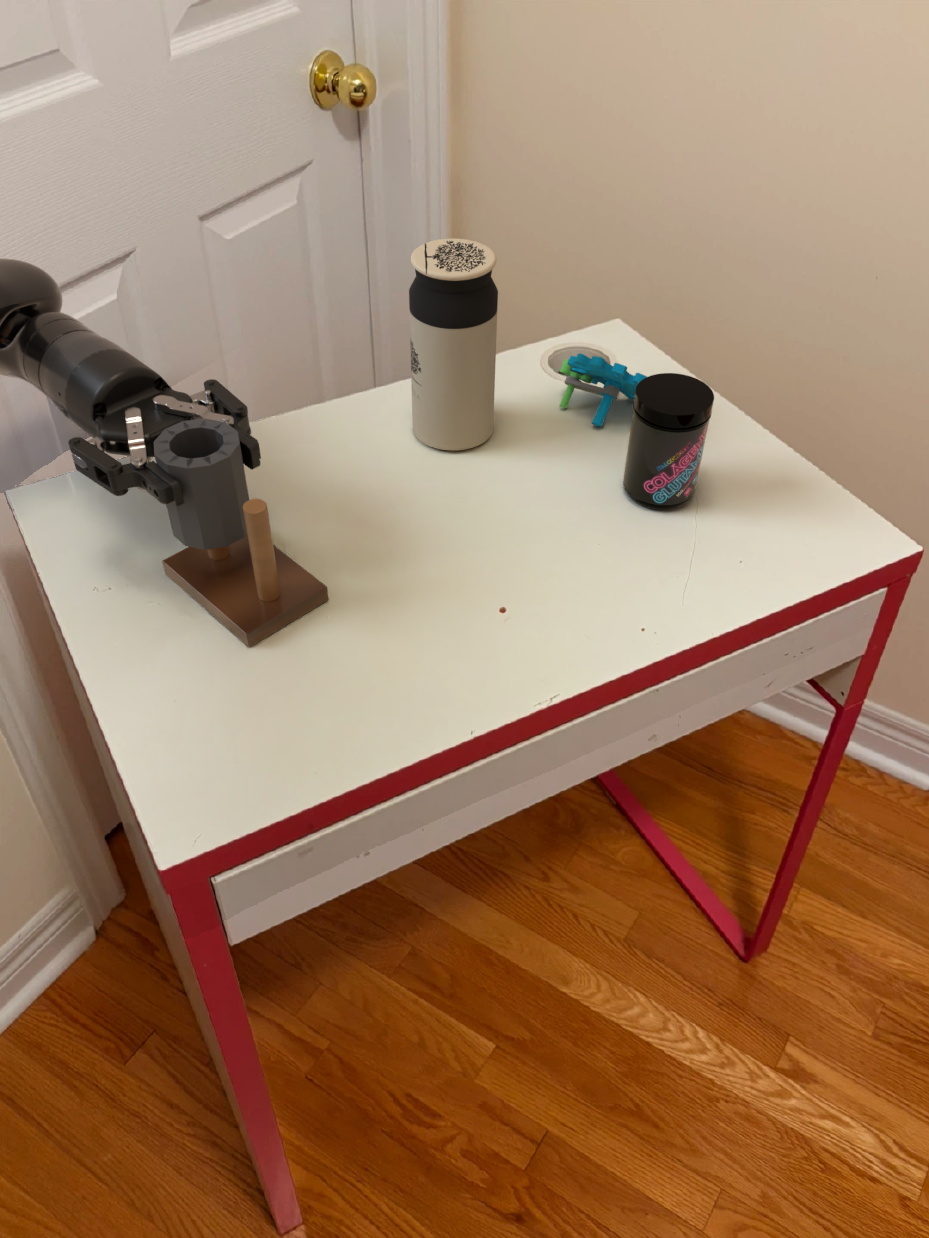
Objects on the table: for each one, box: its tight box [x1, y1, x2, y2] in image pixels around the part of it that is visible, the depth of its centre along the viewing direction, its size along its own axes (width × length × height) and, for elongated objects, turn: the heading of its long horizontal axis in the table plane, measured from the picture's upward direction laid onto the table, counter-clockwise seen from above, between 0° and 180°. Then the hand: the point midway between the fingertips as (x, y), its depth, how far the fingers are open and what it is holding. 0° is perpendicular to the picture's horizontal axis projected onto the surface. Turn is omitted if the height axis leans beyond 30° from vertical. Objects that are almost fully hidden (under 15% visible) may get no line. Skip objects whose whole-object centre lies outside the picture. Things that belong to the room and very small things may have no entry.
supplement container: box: [622, 372, 715, 511], centre depth 94 cm, size 7×7×10 cm
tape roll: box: [154, 418, 250, 550], centre depth 83 cm, size 6×6×8 cm
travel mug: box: [408, 238, 499, 451], centre depth 98 cm, size 8×8×18 cm
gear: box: [559, 352, 648, 428], centre depth 104 cm, size 11×6×10 cm
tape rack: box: [161, 498, 329, 648], centre depth 84 cm, size 12×8×10 cm, turn 44°
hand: (218, 476), depth 80 cm, fingers closed on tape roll, 6 cm apart
